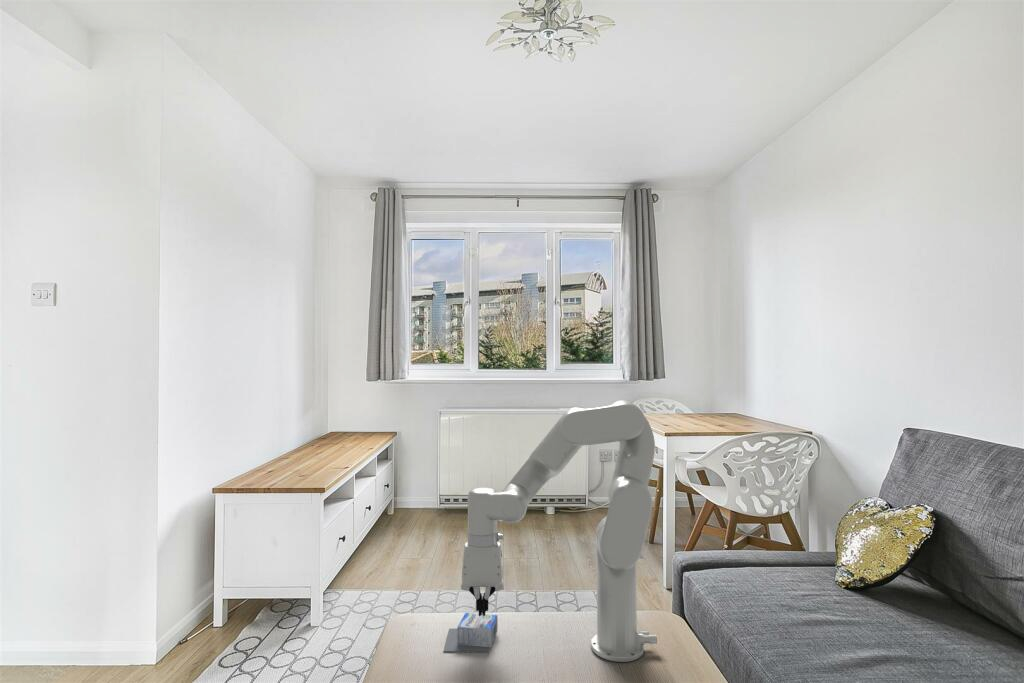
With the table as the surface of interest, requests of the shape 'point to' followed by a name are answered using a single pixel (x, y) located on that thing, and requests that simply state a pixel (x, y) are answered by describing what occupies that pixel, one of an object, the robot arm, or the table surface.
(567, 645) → the table surface
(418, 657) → the table surface
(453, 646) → the mat
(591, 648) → the robot arm
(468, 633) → the medicine box
